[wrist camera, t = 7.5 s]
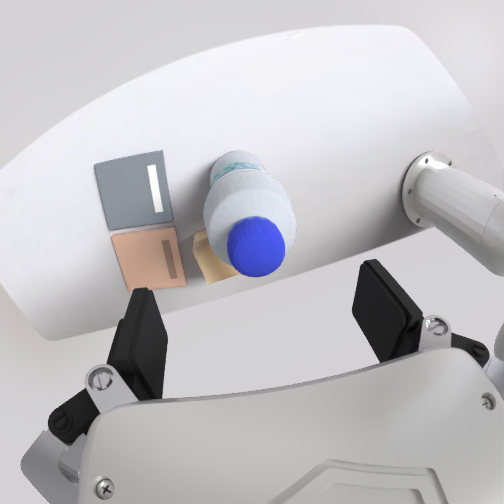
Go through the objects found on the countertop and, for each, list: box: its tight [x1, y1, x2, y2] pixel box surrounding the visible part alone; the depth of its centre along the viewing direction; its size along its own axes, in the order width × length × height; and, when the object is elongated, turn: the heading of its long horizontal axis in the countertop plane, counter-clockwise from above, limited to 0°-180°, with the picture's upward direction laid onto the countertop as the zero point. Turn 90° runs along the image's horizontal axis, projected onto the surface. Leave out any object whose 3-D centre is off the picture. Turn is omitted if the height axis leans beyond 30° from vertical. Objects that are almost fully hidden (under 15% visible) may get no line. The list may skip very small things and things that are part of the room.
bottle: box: [203, 151, 296, 277], centre depth 24 cm, size 7×7×20 cm
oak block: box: [192, 229, 241, 284], centre depth 35 cm, size 5×5×5 cm
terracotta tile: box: [112, 227, 187, 291], centre depth 36 cm, size 9×9×1 cm
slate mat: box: [95, 150, 174, 230], centre depth 31 cm, size 9×9×1 cm
